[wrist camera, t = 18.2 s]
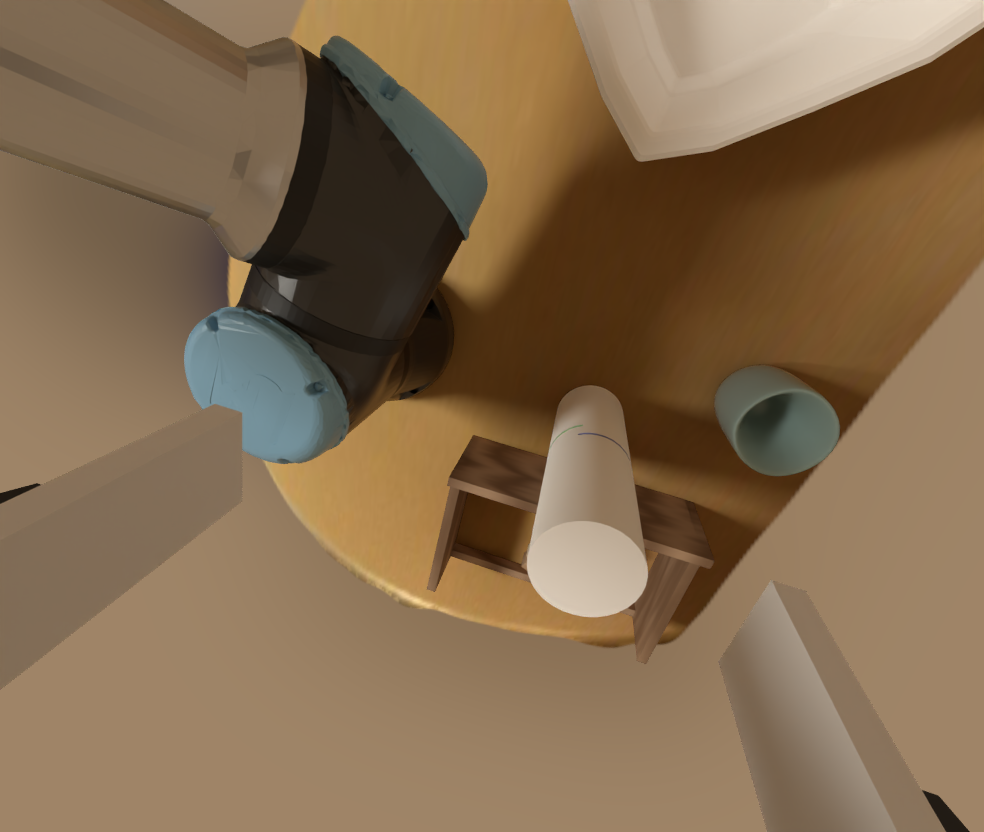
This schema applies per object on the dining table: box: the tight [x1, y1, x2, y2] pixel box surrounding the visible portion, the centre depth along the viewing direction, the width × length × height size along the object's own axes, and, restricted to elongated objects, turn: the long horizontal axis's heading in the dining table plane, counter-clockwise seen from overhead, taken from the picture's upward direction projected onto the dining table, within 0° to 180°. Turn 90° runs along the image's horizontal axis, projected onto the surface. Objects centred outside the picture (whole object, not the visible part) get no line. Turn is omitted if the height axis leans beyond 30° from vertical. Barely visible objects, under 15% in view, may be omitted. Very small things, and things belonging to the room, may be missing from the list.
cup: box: [714, 364, 840, 476], centre depth 42 cm, size 8×8×10 cm
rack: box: [427, 435, 714, 664], centre depth 52 cm, size 26×17×10 cm, turn 76°
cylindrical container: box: [527, 385, 648, 617], centre depth 39 cm, size 7×7×25 cm
